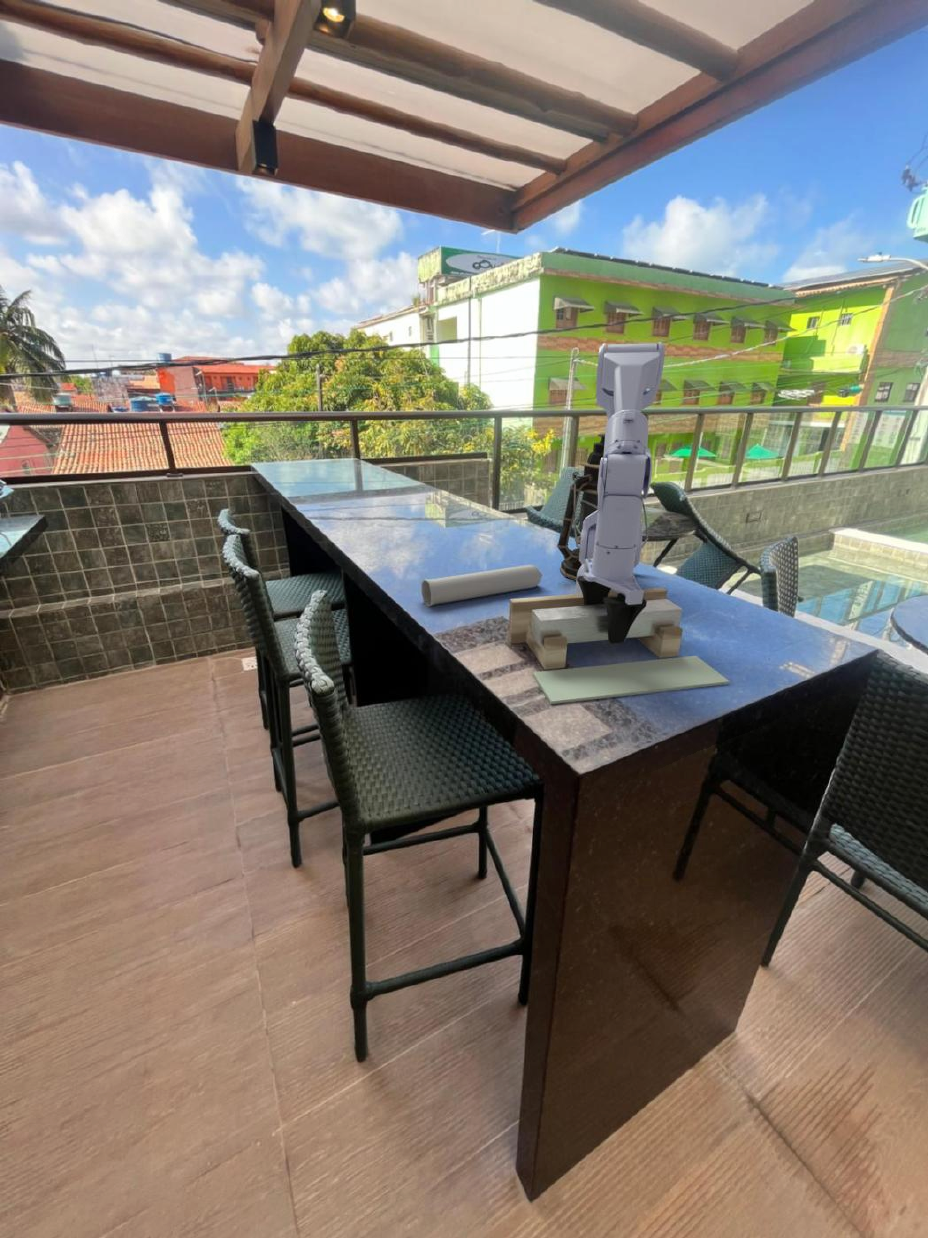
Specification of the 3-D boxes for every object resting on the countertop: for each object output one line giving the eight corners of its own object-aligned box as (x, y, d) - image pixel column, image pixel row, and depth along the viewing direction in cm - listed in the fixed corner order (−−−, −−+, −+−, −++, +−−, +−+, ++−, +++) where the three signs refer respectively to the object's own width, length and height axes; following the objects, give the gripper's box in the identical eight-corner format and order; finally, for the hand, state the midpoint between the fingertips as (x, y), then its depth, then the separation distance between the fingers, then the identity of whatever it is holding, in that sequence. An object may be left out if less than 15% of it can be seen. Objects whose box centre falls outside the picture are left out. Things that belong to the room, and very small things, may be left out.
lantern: (613, 558, 121) (630, 425, 109) (657, 579, 108) (681, 429, 96) (538, 567, 116) (547, 427, 103) (574, 590, 102) (589, 432, 90)
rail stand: (508, 639, 81) (510, 599, 79) (655, 626, 86) (662, 587, 83) (528, 671, 72) (531, 626, 69) (692, 654, 77) (701, 612, 74)
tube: (530, 562, 106) (419, 579, 96) (544, 561, 101) (429, 578, 91) (533, 588, 107) (423, 606, 97) (547, 587, 102) (433, 607, 92)
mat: (532, 674, 71) (532, 672, 71) (695, 658, 76) (695, 655, 75) (551, 704, 64) (551, 701, 64) (728, 683, 69) (729, 681, 69)
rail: (530, 634, 76) (531, 609, 75) (663, 622, 80) (667, 599, 79) (539, 646, 73) (540, 620, 71) (677, 633, 77) (682, 608, 75)
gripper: (568, 532, 76) (561, 614, 82) (612, 560, 63) (600, 655, 69) (612, 529, 78) (602, 611, 83) (663, 557, 65) (648, 651, 70)
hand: (604, 631), depth 76 cm, fingers open, 7 cm apart
